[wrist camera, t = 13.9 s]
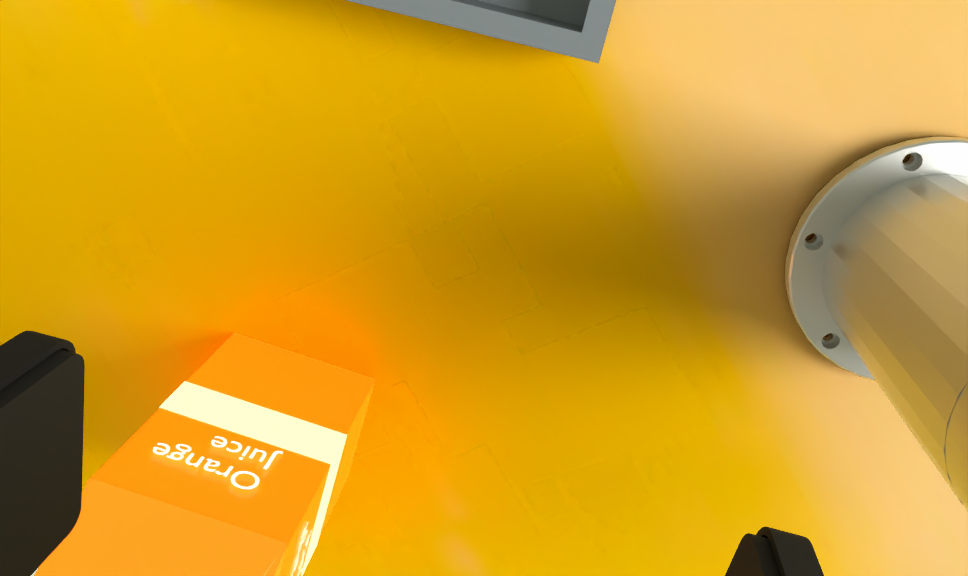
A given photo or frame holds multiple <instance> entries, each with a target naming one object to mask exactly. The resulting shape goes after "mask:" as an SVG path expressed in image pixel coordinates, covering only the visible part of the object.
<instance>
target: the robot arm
mask: <svg viewBox="0 0 968 576" xmlns="http://www.w3.org/2000/svg"><path fill="white" fill-rule="evenodd" d="M907 154H910V155H911V156H910V159H909V161H907V162H905V163H902V161H903V158H904V157H905V156H906V155H907ZM812 233H814V237H813V239H811V240H805V239H806V237H807V236H808V235H810V234H812ZM785 285H786V290H787V296H788V301H789V305H790V307H791V309H792V312H793V314H794V316H795V319H796V321H797V323H798V324H799V326H800V328H801V329H802V331H803V332H804V334H805V336H806V337H807V339H808V340H809V341H810V342H811V343H812V345H813V346H814V347H815V348H816V349H817V350H818V351H819V352H820V353H821V354H822V355H824V356H825V357H826V358H828V359H829V360H831V361H832V362H833V363H835V364H836V365H837V366H839V367H841V368H843V369H845V370H847V371H849V372H852V373H854V374H856V375H858V376H861V377H865V378H869V379H872V380H876V382H877V383H878V385H879V386H880V387H881V389H882V390H883V392H884V393H885V395H886V396H887V397H888V399H889V400H890V402H891V403H892V405H893V406H894V408H895V409H896V410H897V412H898V413H899V415H900V416H901V418H902V419H903V420H904V422H905V423H906V425H907V426H908V428H909V429H910V430H911V432H912V433H913V435H914V436H915V438H916V439H917V440H918V442H919V443H920V445H921V446H922V448H923V449H924V451H925V452H926V453H927V455H928V456H929V458H930V459H931V461H932V462H933V463H934V465H935V466H936V468H937V469H938V471H939V472H940V473H941V475H942V476H943V478H944V479H945V481H946V482H947V483H948V485H949V486H950V488H951V489H952V491H953V492H954V494H955V495H956V496H957V498H958V499H959V501H960V502H961V503H962V504H963V505H964V507H965V508H966V510H967V511H968V138H960V137H942V136H936V137H928V138H919V139H911V140H907V141H904V142H900V143H897V144H894V145H890V146H887V147H884V148H881V149H879V150H877V151H875V152H873V153H871V154H869V155H867V156H865V157H863V158H861V159H859V160H857V161H856V162H854V163H853V164H851V165H850V166H848V167H847V168H846V169H844V170H843V171H841V172H840V173H839V174H837V175H836V176H835V177H834V178H833V179H832V180H831V181H830V182H828V183H827V184H826V185H825V186H824V187H823V188H822V189H821V190H820V191H819V192H818V193H817V194H816V196H815V197H814V198H813V200H812V201H811V203H810V204H809V206H808V207H807V208H806V210H805V211H804V213H803V214H802V215H801V217H800V220H799V222H798V224H797V226H796V228H795V230H794V233H793V235H792V237H791V240H790V244H789V248H788V253H787V257H786V265H785ZM829 333H831V334H830V335H829V336H828V337H824V336H825V335H827V334H829ZM83 410H84V360H83V358H82V356H80V355H79V354H76V353H75V348H74V346H73V344H72V343H71V342H70V341H68V340H64V339H60V338H56V337H53V336H49V335H45V334H41V333H38V332H34V331H25V332H22V333H20V334H18V335H17V336H15V337H14V338H12V339H11V340H9V341H7V342H6V343H4V344H3V345H1V346H0V576H30V575H32V574H33V573H34V571H35V570H36V569H37V568H38V567H39V566H40V565H41V564H42V563H43V562H44V561H45V560H46V559H47V557H48V556H49V555H50V554H51V553H52V552H53V551H54V550H55V549H56V548H57V547H58V546H59V544H60V543H61V542H62V541H63V540H64V539H65V538H66V537H67V536H68V535H69V534H70V532H71V531H72V530H73V528H74V526H75V525H76V523H77V520H78V518H79V515H80V512H81V503H82V456H83ZM725 576H824V575H823V572H822V569H821V567H820V564H819V562H818V559H817V556H816V554H815V551H814V549H813V546H812V544H811V542H810V541H809V539H807V538H806V537H803V536H799V535H795V534H792V533H788V532H784V531H780V530H777V529H773V528H769V527H762V528H761V529H760V530H759V531H758V533H757V534H756V535H753V534H749V533H748V534H746V535H745V536H744V537H743V538H742V540H741V542H740V544H739V546H738V548H737V550H736V553H735V555H734V557H733V559H732V561H731V564H730V566H729V568H728V570H727V572H726V575H725Z"/></svg>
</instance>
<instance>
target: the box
mask: <svg viewBox="0 0 968 576" xmlns="http://www.w3.org/2000/svg"><path fill="white" fill-rule="evenodd" d="M347 1H351V2H355V3H359V4H363V5H367V6H371V7H375V8H379V9H383V10H387V11H391V12H395V13H399V14H403V15H407V16H411V17H415V18H419V19H423V20H427V21H431V22H435V23H439V24H443V25H447V26H451V27H455V28H459V29H463V30H467V31H471V32H475V33H479V34H483V35H487V36H491V37H495V38H499V39H504V40H508V41H512V42H516V43H520V44H524V45H528V46H532V47H536V48H540V49H544V50H548V51H552V52H556V53H560V54H564V55H568V56H572V57H576V58H580V59H584V60H588V61H592V62H596V63H599V60H600V56H601V53H602V49H603V46H604V42H605V38H606V35H607V31H608V27H609V24H610V20H611V17H612V13H613V9H614V6H615V2H616V0H347Z"/></svg>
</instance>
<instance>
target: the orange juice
mask: <svg viewBox="0 0 968 576" xmlns="http://www.w3.org/2000/svg"><path fill="white" fill-rule="evenodd" d="M375 380H376V379H375V378H372V377H369V376H366V375H363V374H360V373H357V372H354V371H351V370H348V369H345V368H341V367H338V366H335V365H332V364H329V363H326V362H323V361H320V360H317V359H314V358H311V357H308V356H305V355H302V354H299V353H296V352H293V351H290V350H287V349H284V348H281V347H278V346H275V345H272V344H269V343H266V342H263V341H260V340H257V339H254V338H251V337H248V336H245V335H242V334H239V333H236V332H234V333H233V334H232V335H231V336H230V337H229V338H228V339H227V340H226V341H225V342H224V343H223V344H222V345H221V346H220V347H219V348H218V349H217V350H216V351H215V352H214V354H213V355H212V356H211V357H210V358H209V359H208V360H207V361H206V362H205V363H204V364H203V365H202V366H201V367H200V368H199V369H198V370H197V371H196V372H195V373H194V374H193V375H192V376H191V377H190V378H189V379H188V380H187V381H184V382H183V383H182V384H181V385H180V386H179V387H178V388H177V389H176V390H175V391H174V392H173V393H172V394H171V395H170V396H169V397H168V398H167V399H166V400H165V401H164V402H163V404H162V405H161V406H160V407H159V409H158V410H157V411H156V412H155V413H154V414H153V415H152V416H151V417H150V418H149V419H148V420H147V421H146V422H145V423H144V424H143V425H142V426H141V427H140V428H139V429H138V430H137V431H136V432H135V433H134V434H133V436H132V437H131V438H130V439H129V440H128V441H127V442H126V443H125V444H124V445H123V446H122V447H121V448H120V449H119V450H118V451H117V452H116V453H115V454H114V455H113V456H112V457H111V458H110V459H109V460H108V461H107V462H106V463H105V464H104V465H103V466H102V467H101V468H100V469H99V470H98V471H97V472H96V473H95V474H94V475H93V476H92V477H91V478H90V479H89V480H88V481H87V482H86V486H85V488H84V490H83V491H82V503H81V512H80V515H79V518H78V520H77V523H76V525H75V526H74V528H73V530H72V531H71V532H70V534H69V535H68V536H67V537H66V538H65V539H64V540H63V541H62V542H61V543H60V544H59V546H58V547H57V548H56V549H55V550H54V551H53V552H52V553H51V554H50V555H49V556H48V557H47V559H46V560H45V561H44V562H43V563H42V564H41V565H40V566H39V568H38V570H37V572H36V573H35V575H34V576H302V575H303V573H304V571H305V569H306V567H307V565H308V563H309V561H310V559H311V556H312V554H313V552H314V550H315V548H316V546H317V543H318V540H319V538H320V536H321V534H322V531H323V529H324V527H325V525H326V523H327V521H328V519H329V517H330V515H331V513H332V511H333V508H334V506H335V504H336V502H337V500H338V498H339V496H340V494H341V492H342V490H343V488H344V486H345V483H346V481H347V479H348V476H349V473H350V469H351V466H352V462H353V458H354V455H355V451H356V448H357V444H358V441H359V437H360V434H361V430H362V426H363V423H364V419H365V416H366V412H367V409H368V405H369V402H370V398H371V395H372V391H373V387H374V384H375Z"/></svg>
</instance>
